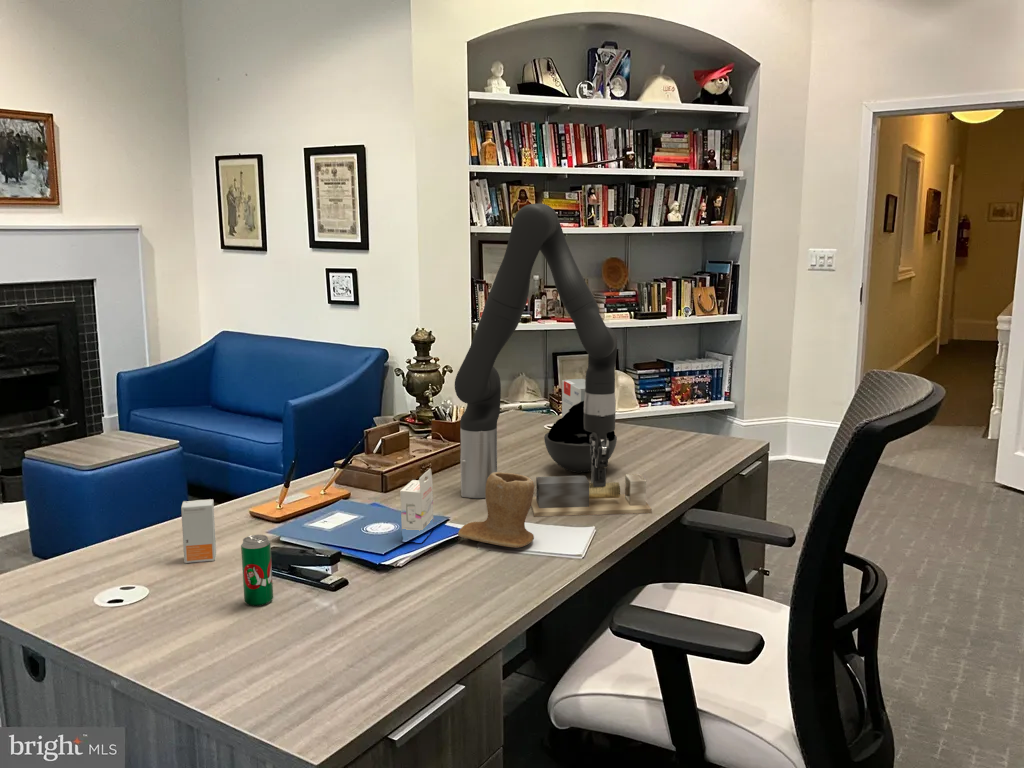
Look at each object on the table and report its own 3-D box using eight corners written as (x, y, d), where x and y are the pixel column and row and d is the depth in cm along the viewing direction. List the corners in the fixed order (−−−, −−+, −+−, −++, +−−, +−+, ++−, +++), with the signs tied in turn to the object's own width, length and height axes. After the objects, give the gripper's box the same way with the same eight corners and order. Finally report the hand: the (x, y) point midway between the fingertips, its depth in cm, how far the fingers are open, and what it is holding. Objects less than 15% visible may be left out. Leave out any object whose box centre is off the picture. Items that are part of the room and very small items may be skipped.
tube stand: (534, 516, 202) (534, 487, 200) (528, 500, 213) (528, 473, 212) (651, 513, 204) (652, 484, 203) (639, 497, 216) (640, 470, 215)
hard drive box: (560, 441, 274) (561, 379, 270) (583, 439, 276) (583, 378, 272) (578, 453, 259) (579, 388, 255) (602, 451, 261) (603, 386, 258)
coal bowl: (591, 486, 226) (592, 416, 222) (529, 473, 238) (530, 406, 234) (629, 469, 241) (630, 403, 238) (569, 458, 253) (570, 395, 250)
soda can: (262, 593, 159) (259, 531, 157) (279, 600, 156) (275, 537, 154) (238, 602, 155) (234, 539, 153) (255, 610, 152) (251, 545, 150)
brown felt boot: (544, 538, 188) (544, 471, 185) (518, 556, 178) (518, 486, 175) (484, 526, 195) (484, 462, 192) (456, 543, 185) (455, 476, 182)
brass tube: (550, 502, 206) (550, 468, 204) (548, 497, 209) (548, 463, 208) (620, 500, 207) (620, 466, 206) (616, 495, 211) (617, 462, 209)
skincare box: (184, 564, 173) (180, 507, 171) (186, 556, 177) (182, 500, 175) (215, 561, 175) (212, 504, 173) (217, 553, 179) (213, 498, 177)
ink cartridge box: (413, 529, 193) (411, 466, 191) (434, 531, 192) (433, 467, 190) (400, 542, 185) (398, 476, 182) (422, 544, 184) (421, 478, 181)
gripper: (579, 405, 211) (578, 472, 214) (589, 417, 198) (588, 489, 201) (609, 404, 212) (608, 472, 215) (621, 416, 198) (619, 488, 201)
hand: (598, 480), depth 208 cm, fingers closed on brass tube, 3 cm apart
